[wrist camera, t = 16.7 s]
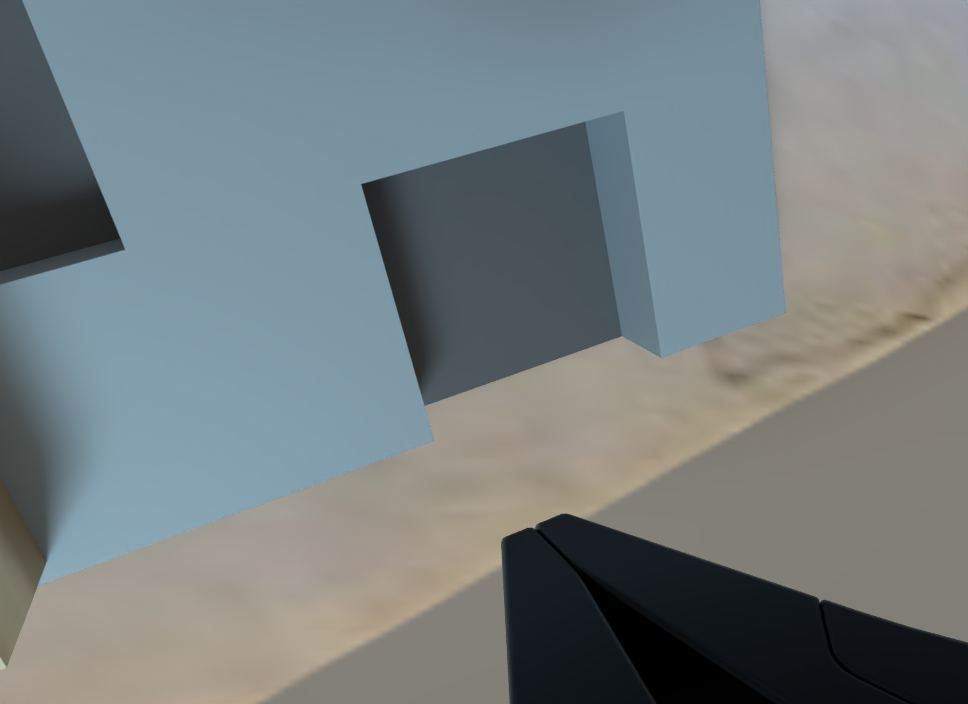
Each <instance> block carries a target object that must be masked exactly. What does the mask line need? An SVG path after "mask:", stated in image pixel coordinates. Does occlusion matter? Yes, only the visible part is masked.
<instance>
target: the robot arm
mask: <svg viewBox="0 0 968 704" xmlns="http://www.w3.org/2000/svg"><path fill="white" fill-rule="evenodd" d="M501 549H502V568H503V584H504V585H503V586H504V604H505V624H506V643H507V660H508V661H507V662H508V681H509V696H510V697H509V699H510V704H968V643H967V642H964V641H960V640H956V639H953V638H949V637H945V636H941V635H938V634H934V633H930V632H926V631H923V630H919V629H915V628H912V627H909V626H906V625H902V624H899V623H895V622H893V621H889V620H886V619H883V618H880V617H876V616H873V615H870V614H867V613H864V612H861V611H857V610H854V609H851V608H848V607H845V606H842V605H839V604H836V603H833V602H831V601H828V600H822V601H821V603H820V602H819V599H818V598H817V597H815V596H812V595H809V594H806V593H803V592H800V591H797V590H794V589H791V588H788V587H785V586H782V585H779V584H776V583H773V582H770V581H767V580H764V579H761V578H758V577H755V576H752V575H749V574H746V573H743V572H740V571H737V570H734V569H731V568H728V567H725V566H722V565H719V564H716V563H713V562H710V561H707V560H704V559H701V558H698V557H695V556H692V555H689V554H686V553H683V552H680V551H678V550H674V549H672V548H668V547H665V546H663V545H660V544H657V543H654V542H651V541H648V540H645V539H642V538H639V537H636V536H633V535H630V534H627V533H624V532H620V531H618V530H615V529H612V528H609V527H606V526H603V525H600V524H597V523H594V522H591V521H588V520H585V519H582V518H579V517H576V516H573V515H570V514H560V515H558V516H556V517H553V518H551V519H548V520H546V521H543V522H541V523H539V524H537V525H536V527H535V529H534V528H526V529H524V530H521V531H519V532H516V533H514V534H511V535H509V536H506V537H504V538H503V539H502V542H501Z"/></svg>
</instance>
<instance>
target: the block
mask: <svg viewBox="0 0 968 704" xmlns="http://www.w3.org/2000/svg"><path fill="white" fill-rule="evenodd" d="M46 563H47V562H46V560H45V559H44V557H43V555H42V553H41V551H40V549H39V547H38V546H37V544H36V542H35V540H34V538H33V536H32V535H31V533H30V531H29V529H28V527H27V525H26V523H25V522H24V520H23V518H22V516H21V514H20V512H19V510H18V509H17V507H16V505H15V503H14V501H13V499H12V498H11V496H10V494H9V492H8V490H7V488H6V486H5V485H4V483H3V481H2V479H1V477H0V670H2V669H4V668H6V667H7V665H8V662H9V660H10V657H11V654H12V652H13V649H14V647H15V644H16V641H17V639H18V636H19V633H20V631H21V628H22V626H23V623H24V620H25V618H26V615H27V612H28V610H29V607H30V605H31V602H32V599H33V597H34V594H35V592H36V589H37V586H38V584H39V581H40V578H41V576H42V573H43V571H44V568H45V565H46Z"/></svg>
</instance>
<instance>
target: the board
mask: <svg viewBox="0 0 968 704" xmlns="http://www.w3.org/2000/svg"><path fill="white" fill-rule="evenodd" d="M783 313H786V309H785V297H784V285H783V274H782V262H781V250H780V238H779V226H778V214H777V202H776V190H775V178H774V167H773V155H772V143H771V131H770V119H769V107H768V95H767V83H766V71H765V60H764V48H763V36H762V24H761V12H760V0H0V477H1V479H2V481H3V483H4V485H5V486H6V488H7V490H8V492H9V494H10V496H11V498H12V499H13V501H14V503H15V505H16V507H17V509H18V510H19V512H20V514H21V516H22V518H23V520H24V522H25V523H26V525H27V527H28V529H29V531H30V533H31V535H32V536H33V538H34V540H35V542H36V544H37V546H38V547H39V549H40V551H41V553H42V555H43V557H44V559H45V560H46V562H47V563H46V565H45V568H44V571H43V573H42V576H41V578H40V581H39V584H38V586H39V585H42V584H44V583H47V582H50V581H53V580H55V579H58V578H61V577H63V576H66V575H69V574H72V573H74V572H77V571H80V570H83V569H85V568H88V567H91V566H94V565H96V564H99V563H102V562H104V561H107V560H110V559H113V558H115V557H118V556H121V555H124V554H126V553H129V552H132V551H135V550H137V549H140V548H143V547H146V546H148V545H151V544H154V543H156V542H159V541H162V540H165V539H167V538H170V537H173V536H176V535H178V534H181V533H184V532H187V531H189V530H192V529H195V528H197V527H200V526H203V525H206V524H208V523H211V522H214V521H217V520H219V519H222V518H225V517H228V516H230V515H233V514H236V513H239V512H241V511H244V510H247V509H249V508H252V507H255V506H258V505H260V504H263V503H266V502H269V501H271V500H274V499H277V498H280V497H282V496H285V495H288V494H290V493H293V492H296V491H299V490H301V489H304V488H307V487H310V486H312V485H315V484H318V483H321V482H323V481H326V480H329V479H332V478H334V477H337V476H340V475H342V474H345V473H348V472H351V471H353V470H356V469H359V468H362V467H364V466H367V465H370V464H373V463H375V462H378V461H381V460H384V459H386V458H389V457H392V456H394V455H397V454H400V453H403V452H405V451H408V450H411V449H414V448H416V447H419V446H422V445H425V444H427V443H430V442H433V441H434V438H433V434H432V431H431V427H430V424H429V420H428V417H427V413H426V410H425V405H428V404H431V403H434V402H437V401H439V400H442V399H445V398H448V397H451V396H454V395H456V394H459V393H462V392H465V391H468V390H471V389H473V388H476V387H479V386H482V385H485V384H488V383H490V382H493V381H496V380H499V379H502V378H505V377H507V376H510V375H513V374H516V373H519V372H521V371H524V370H527V369H530V368H533V367H536V366H538V365H541V364H544V363H547V362H550V361H553V360H555V359H558V358H561V357H564V356H567V355H570V354H572V353H575V352H578V351H581V350H584V349H587V348H589V347H592V346H595V345H598V344H601V343H604V342H606V341H609V340H612V339H615V338H618V337H620V336H623V337H625V338H627V339H628V340H630V341H632V342H634V343H636V344H637V345H639V346H641V347H643V348H645V349H646V350H648V351H650V352H652V353H654V354H655V355H657V356H659V357H661V358H663V357H665V356H668V355H671V354H673V353H676V352H679V351H682V350H684V349H687V348H690V347H693V346H695V345H698V344H701V343H704V342H706V341H709V340H712V339H714V338H717V337H720V336H723V335H725V334H728V333H731V332H734V331H736V330H739V329H742V328H745V327H747V326H750V325H753V324H756V323H758V322H761V321H764V320H766V319H769V318H772V317H775V316H777V315H780V314H783Z"/></svg>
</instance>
